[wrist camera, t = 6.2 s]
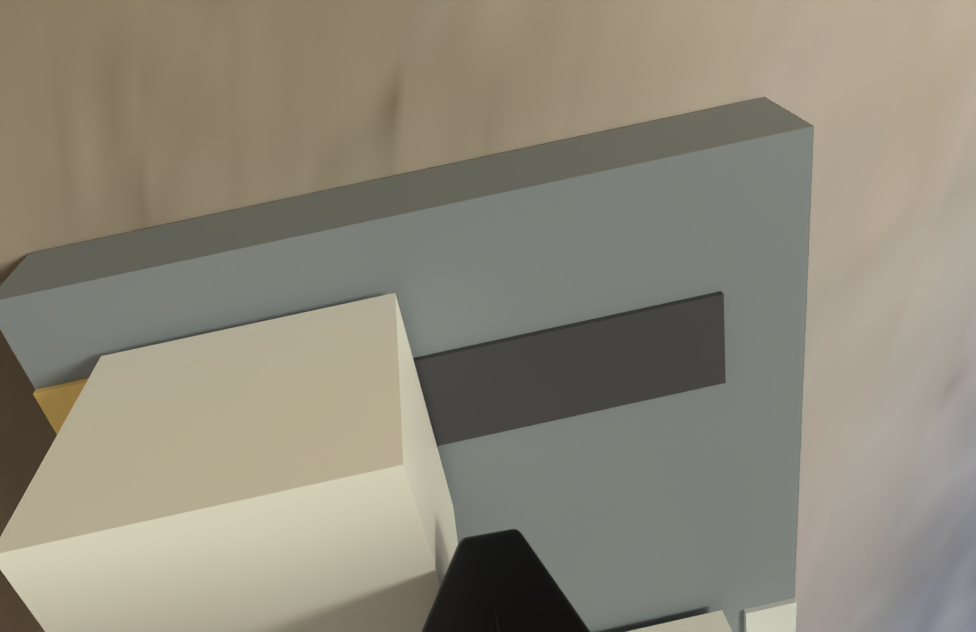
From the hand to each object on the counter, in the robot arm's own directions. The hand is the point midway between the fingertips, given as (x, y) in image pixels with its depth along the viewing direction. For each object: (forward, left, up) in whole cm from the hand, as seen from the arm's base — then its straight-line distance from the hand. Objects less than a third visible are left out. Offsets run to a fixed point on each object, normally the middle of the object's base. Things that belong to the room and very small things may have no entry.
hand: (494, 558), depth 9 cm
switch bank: (0, +8, -5) cm, 9 cm away
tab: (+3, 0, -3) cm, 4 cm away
